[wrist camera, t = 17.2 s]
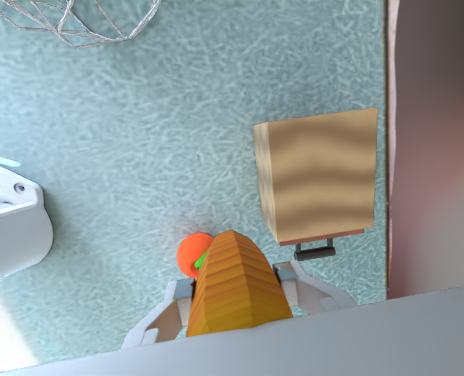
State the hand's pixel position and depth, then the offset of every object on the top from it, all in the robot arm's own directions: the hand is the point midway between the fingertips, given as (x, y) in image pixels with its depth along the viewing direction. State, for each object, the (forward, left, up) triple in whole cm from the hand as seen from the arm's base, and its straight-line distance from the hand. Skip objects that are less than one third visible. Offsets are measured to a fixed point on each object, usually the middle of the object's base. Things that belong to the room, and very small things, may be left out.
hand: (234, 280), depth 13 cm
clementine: (+4, -9, -23) cm, 25 cm away
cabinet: (+7, +11, -23) cm, 26 cm away
